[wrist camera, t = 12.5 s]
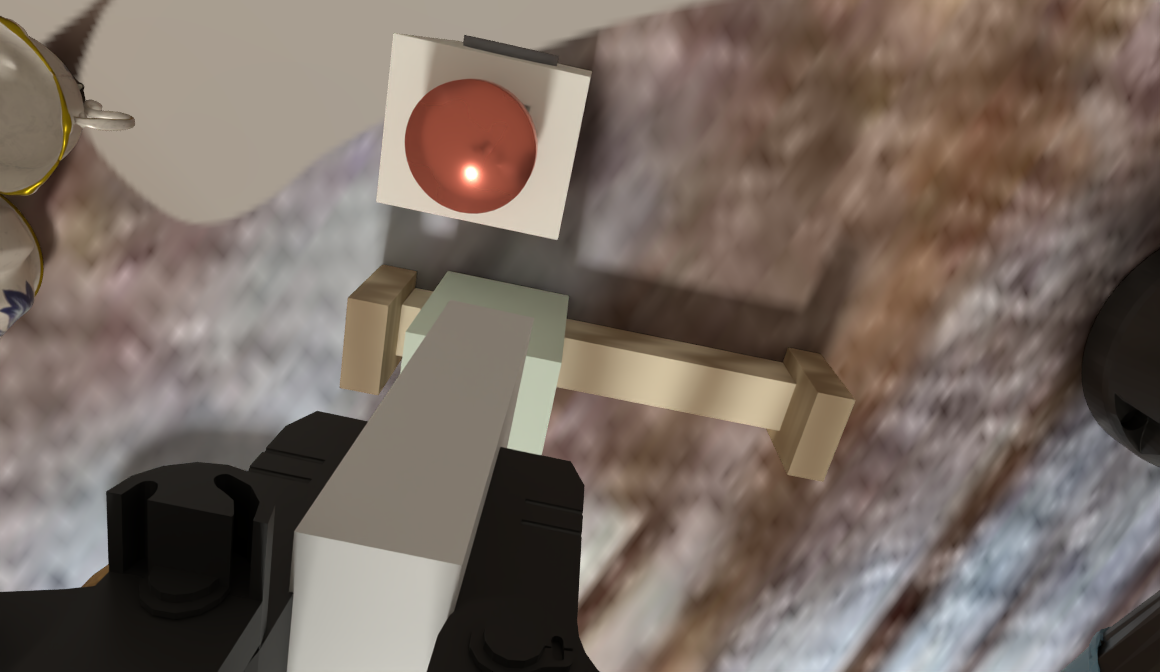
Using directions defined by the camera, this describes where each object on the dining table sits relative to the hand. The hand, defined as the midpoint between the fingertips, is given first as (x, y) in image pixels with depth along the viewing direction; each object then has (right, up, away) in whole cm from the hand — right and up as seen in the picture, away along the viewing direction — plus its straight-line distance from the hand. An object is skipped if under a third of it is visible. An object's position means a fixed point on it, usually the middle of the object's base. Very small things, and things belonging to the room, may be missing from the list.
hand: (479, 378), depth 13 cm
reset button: (-2, +9, +15) cm, 17 cm away
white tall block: (-2, +12, +24) cm, 27 cm away
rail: (+3, 0, +29) cm, 29 cm away
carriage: (-3, +1, +29) cm, 29 cm away
